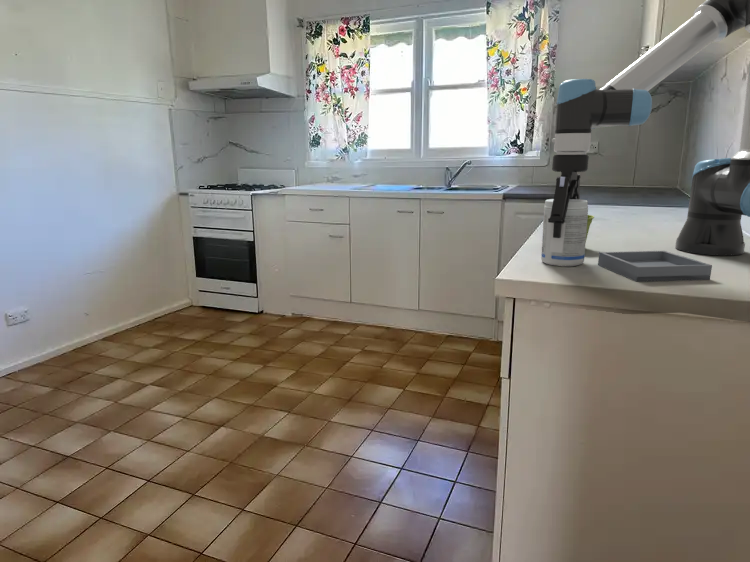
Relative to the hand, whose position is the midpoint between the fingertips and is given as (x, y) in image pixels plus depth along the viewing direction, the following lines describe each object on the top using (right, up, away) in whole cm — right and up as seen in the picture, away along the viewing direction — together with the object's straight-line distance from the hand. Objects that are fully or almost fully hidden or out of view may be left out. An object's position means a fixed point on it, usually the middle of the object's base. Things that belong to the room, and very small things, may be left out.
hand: (563, 247), depth 120 cm
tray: (+16, -6, -9) cm, 19 cm away
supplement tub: (0, -4, +1) cm, 4 cm away
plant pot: (+10, +1, +19) cm, 21 cm away
